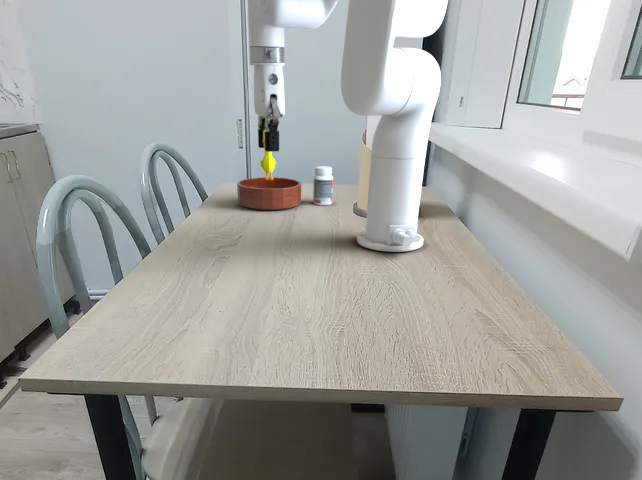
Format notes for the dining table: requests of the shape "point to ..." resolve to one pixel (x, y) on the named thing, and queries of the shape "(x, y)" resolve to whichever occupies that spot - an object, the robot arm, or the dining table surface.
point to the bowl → (269, 193)
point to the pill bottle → (323, 186)
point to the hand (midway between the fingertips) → (268, 148)
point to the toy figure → (267, 160)
